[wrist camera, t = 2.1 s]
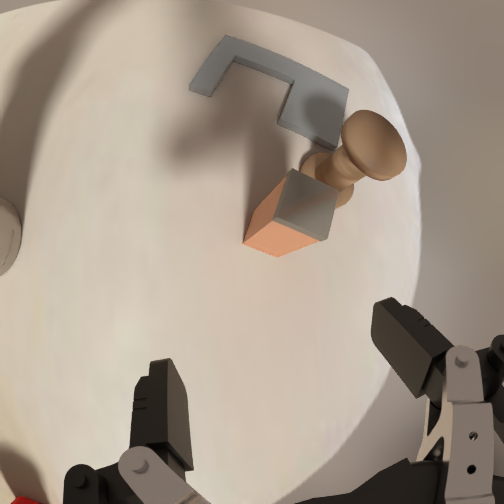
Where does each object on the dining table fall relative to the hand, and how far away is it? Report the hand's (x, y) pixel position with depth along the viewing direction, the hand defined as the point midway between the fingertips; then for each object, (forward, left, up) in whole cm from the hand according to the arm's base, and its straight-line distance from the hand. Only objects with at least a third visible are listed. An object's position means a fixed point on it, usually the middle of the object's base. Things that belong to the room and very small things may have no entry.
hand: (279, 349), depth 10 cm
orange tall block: (+2, +10, -19) cm, 22 cm away
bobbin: (+7, +19, -19) cm, 28 cm away
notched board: (-3, +30, -19) cm, 36 cm away
